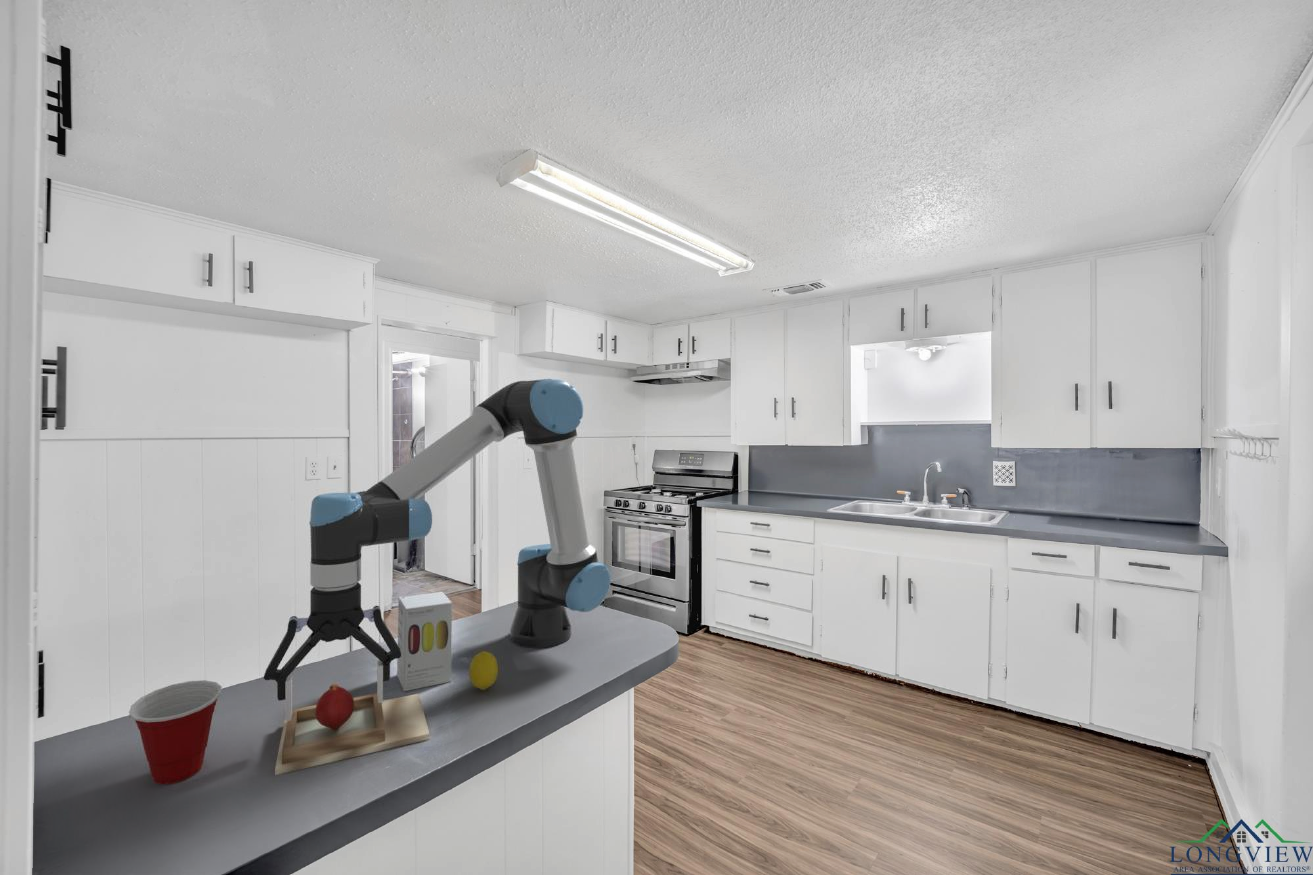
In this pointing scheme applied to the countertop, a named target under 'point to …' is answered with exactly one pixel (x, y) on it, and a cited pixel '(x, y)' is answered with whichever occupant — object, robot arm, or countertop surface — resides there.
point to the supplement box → (424, 640)
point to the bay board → (350, 732)
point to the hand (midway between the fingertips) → (335, 708)
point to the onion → (334, 707)
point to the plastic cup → (176, 728)
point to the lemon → (483, 670)
